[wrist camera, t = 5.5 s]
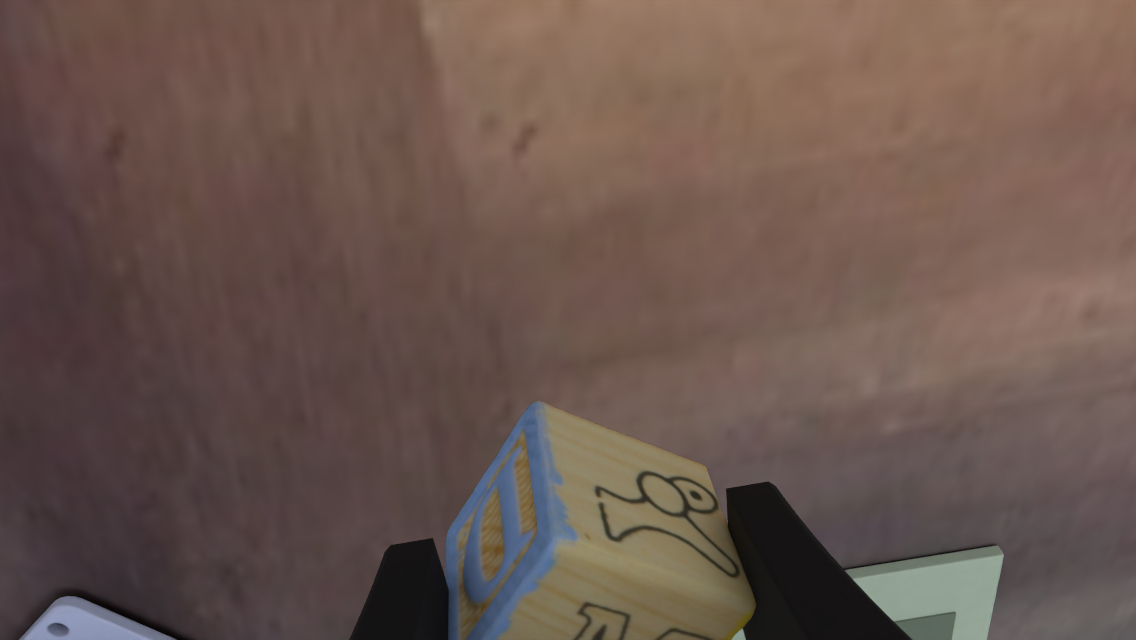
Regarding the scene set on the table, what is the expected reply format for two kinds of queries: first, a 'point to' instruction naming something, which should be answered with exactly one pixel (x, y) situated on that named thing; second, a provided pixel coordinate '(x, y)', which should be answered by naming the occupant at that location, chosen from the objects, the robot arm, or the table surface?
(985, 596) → the word mat
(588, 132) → the table surface
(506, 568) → the alphabet block
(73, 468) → the table surface
